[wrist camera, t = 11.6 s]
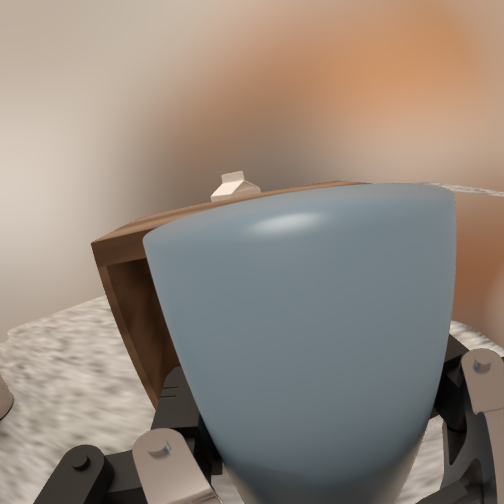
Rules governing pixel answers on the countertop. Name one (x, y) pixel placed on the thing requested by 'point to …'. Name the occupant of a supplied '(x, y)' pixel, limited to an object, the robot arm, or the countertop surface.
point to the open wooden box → (150, 289)
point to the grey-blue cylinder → (313, 333)
